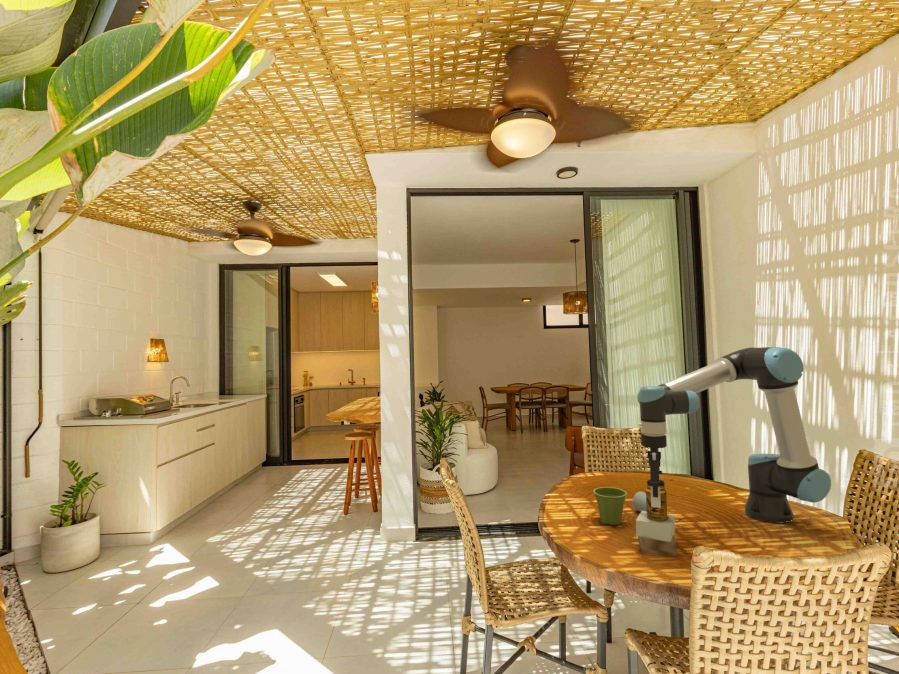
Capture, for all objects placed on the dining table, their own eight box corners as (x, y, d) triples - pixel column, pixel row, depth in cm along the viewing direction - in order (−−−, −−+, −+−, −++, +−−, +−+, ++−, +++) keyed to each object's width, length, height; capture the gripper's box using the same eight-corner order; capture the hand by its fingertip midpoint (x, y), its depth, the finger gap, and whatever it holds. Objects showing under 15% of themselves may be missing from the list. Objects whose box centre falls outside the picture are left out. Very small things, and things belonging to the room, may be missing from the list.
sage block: (675, 531, 154) (674, 515, 154) (670, 542, 145) (670, 525, 145) (642, 525, 159) (641, 510, 159) (636, 535, 151) (635, 520, 151)
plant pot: (587, 520, 177) (586, 490, 177) (608, 514, 183) (607, 485, 184) (613, 530, 167) (612, 498, 167) (634, 523, 173) (633, 492, 174)
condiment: (650, 522, 149) (648, 484, 149) (640, 513, 157) (639, 476, 157) (673, 522, 148) (672, 483, 149) (662, 512, 157) (661, 476, 157)
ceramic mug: (649, 518, 178) (649, 498, 178) (632, 512, 185) (631, 492, 185) (668, 514, 182) (668, 494, 183) (650, 507, 190) (650, 488, 190)
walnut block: (670, 544, 155) (669, 529, 155) (677, 557, 146) (676, 541, 146) (638, 542, 158) (637, 527, 158) (642, 554, 148) (642, 538, 148)
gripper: (642, 427, 165) (644, 488, 165) (639, 440, 142) (642, 511, 142) (665, 428, 162) (668, 490, 162) (666, 442, 139) (669, 514, 139)
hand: (656, 500), depth 152 cm, fingers open, 13 cm apart
